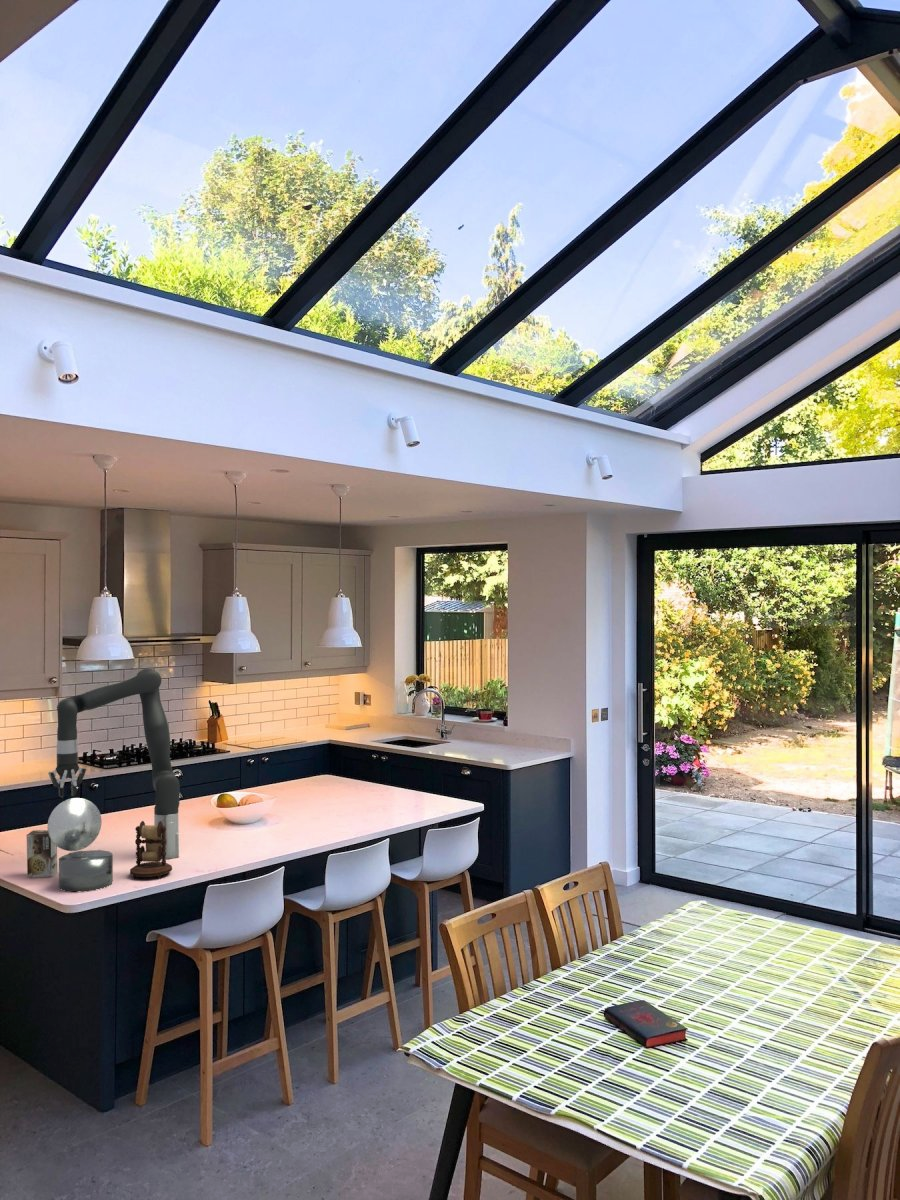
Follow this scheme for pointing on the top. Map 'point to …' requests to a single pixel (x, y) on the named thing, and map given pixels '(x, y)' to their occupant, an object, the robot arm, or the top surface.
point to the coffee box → (41, 854)
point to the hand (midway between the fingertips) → (67, 796)
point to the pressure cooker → (85, 870)
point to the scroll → (151, 851)
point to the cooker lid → (74, 824)
